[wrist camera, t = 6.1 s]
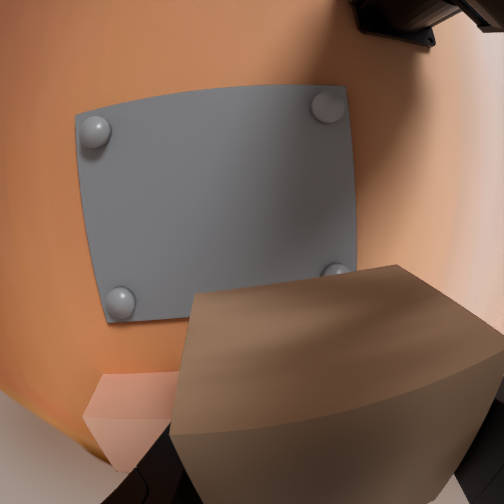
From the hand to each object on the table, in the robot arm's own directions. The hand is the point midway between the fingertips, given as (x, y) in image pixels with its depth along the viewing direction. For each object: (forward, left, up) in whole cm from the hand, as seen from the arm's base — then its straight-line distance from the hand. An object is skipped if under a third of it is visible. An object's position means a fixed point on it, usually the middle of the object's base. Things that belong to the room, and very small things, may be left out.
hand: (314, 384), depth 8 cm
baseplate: (+2, -4, -11) cm, 12 cm away
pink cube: (+9, +10, -11) cm, 17 cm away
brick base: (0, 0, -1) cm, 1 cm away
